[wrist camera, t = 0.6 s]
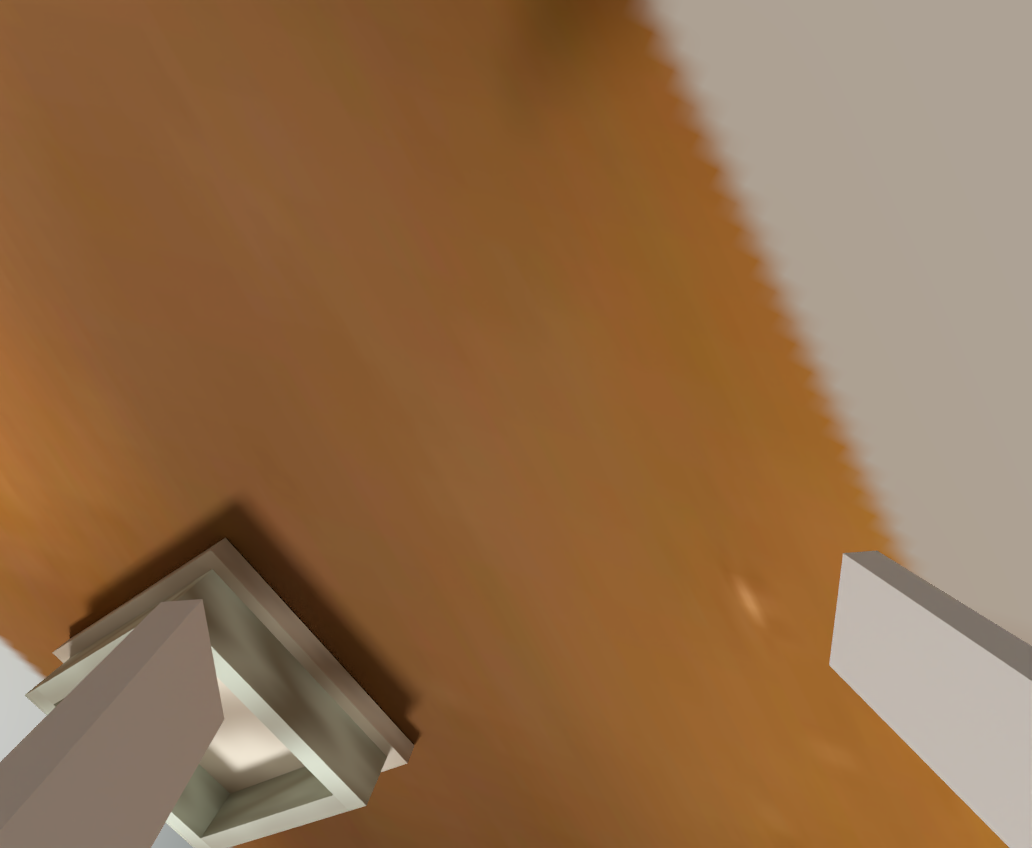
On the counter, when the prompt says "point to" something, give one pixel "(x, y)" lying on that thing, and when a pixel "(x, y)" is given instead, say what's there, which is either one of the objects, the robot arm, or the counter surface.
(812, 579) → the counter surface
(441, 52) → the counter surface
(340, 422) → the counter surface
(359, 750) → the rectangular tray
